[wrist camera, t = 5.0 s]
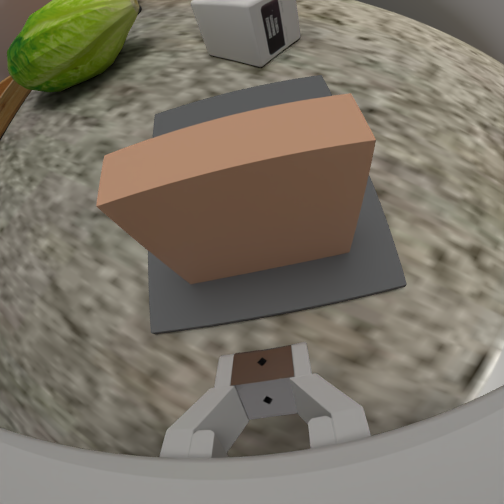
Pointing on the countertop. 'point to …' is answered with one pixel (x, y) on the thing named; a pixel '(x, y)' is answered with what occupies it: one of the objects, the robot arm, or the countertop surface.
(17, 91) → the tray
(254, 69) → the countertop surface
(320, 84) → the mat
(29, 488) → the robot arm
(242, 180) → the block
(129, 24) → the lettuce
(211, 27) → the container
